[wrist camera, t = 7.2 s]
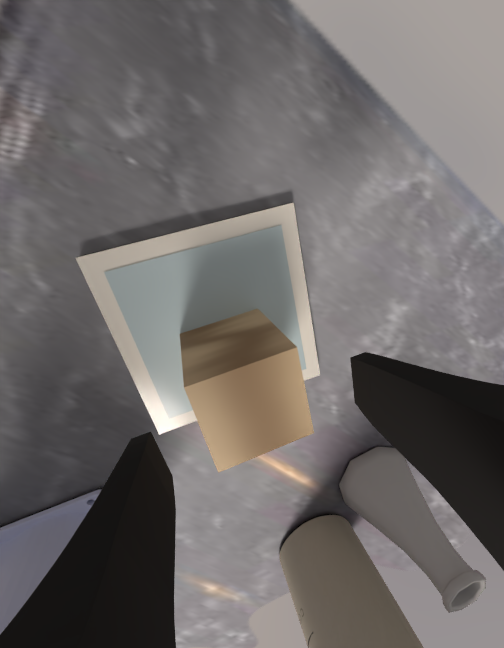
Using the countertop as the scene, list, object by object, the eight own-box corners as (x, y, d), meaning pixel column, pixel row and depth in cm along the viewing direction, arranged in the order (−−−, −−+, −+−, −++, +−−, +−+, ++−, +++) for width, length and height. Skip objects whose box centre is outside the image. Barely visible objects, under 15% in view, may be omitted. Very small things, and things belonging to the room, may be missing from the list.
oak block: (204, 399, 19) (218, 472, 13) (179, 333, 17) (184, 387, 11) (273, 373, 19) (313, 433, 14) (257, 308, 17) (297, 347, 12)
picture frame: (159, 426, 19) (159, 435, 19) (80, 256, 15) (74, 258, 14) (314, 369, 21) (320, 375, 21) (288, 203, 17) (294, 202, 16)
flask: (340, 452, 25) (435, 580, 16) (406, 436, 27) (525, 543, 18) (334, 509, 28) (412, 646, 19) (394, 491, 30) (493, 609, 21)
